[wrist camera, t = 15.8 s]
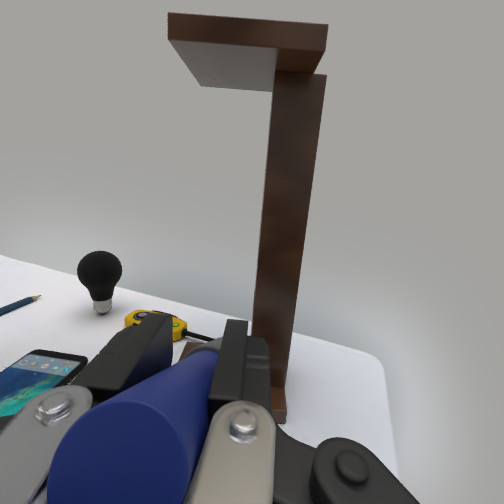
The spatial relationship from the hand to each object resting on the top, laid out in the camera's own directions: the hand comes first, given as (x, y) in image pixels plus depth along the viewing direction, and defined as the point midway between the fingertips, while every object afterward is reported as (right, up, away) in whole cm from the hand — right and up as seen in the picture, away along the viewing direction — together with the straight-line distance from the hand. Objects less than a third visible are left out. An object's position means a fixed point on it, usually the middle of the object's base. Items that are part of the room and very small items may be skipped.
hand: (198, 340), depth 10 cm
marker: (0, -2, +2) cm, 3 cm away
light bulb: (-21, -7, +34) cm, 41 cm away
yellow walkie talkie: (-9, -9, +30) cm, 33 cm away
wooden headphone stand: (-1, -12, +21) cm, 24 cm away
